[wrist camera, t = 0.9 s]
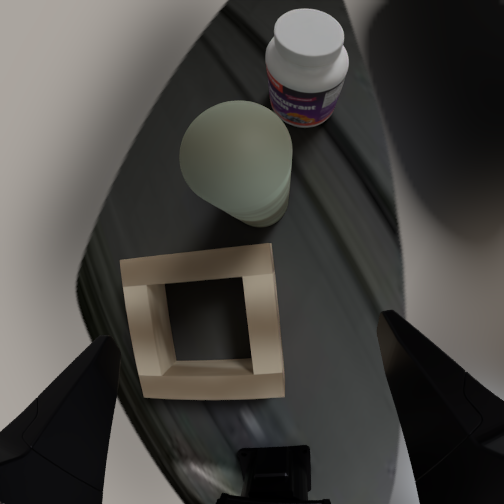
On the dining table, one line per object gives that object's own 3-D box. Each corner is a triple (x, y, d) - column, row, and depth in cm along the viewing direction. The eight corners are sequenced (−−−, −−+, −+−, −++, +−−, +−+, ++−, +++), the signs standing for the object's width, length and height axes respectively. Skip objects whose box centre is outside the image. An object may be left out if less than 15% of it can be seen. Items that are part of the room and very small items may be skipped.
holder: (284, 377, 24) (284, 397, 20) (159, 381, 25) (144, 397, 22) (271, 243, 24) (269, 242, 20) (140, 258, 25) (119, 260, 21)
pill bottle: (257, 107, 24) (242, 38, 14) (292, 65, 23) (293, -10, 14) (312, 141, 23) (327, 82, 14) (346, 96, 23) (372, 28, 13)
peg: (291, 224, 24) (299, 199, 11) (234, 230, 24) (183, 214, 12) (284, 168, 24) (283, 94, 11) (229, 175, 24) (177, 111, 12)
